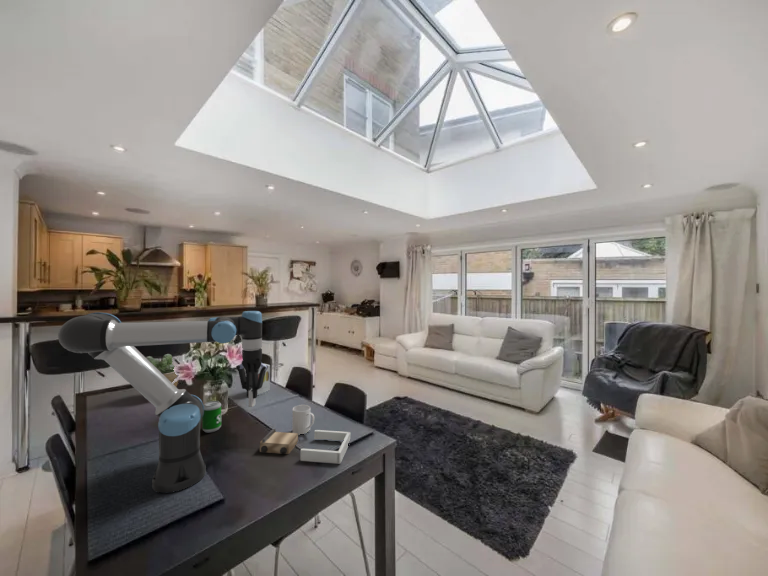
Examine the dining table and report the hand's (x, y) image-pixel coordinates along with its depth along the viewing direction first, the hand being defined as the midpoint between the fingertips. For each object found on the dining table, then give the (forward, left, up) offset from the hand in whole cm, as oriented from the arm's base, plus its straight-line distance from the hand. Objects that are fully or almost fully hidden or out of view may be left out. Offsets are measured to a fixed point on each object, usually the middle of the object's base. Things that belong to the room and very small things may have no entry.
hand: (252, 405), depth 127 cm
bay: (0, -32, -16) cm, 36 cm away
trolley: (0, -12, -16) cm, 20 cm away
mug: (+13, -17, -16) cm, 27 cm away
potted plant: (+44, +81, -16) cm, 94 cm away
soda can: (+10, +25, -16) cm, 32 cm away
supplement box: (+58, +29, -16) cm, 67 cm away
